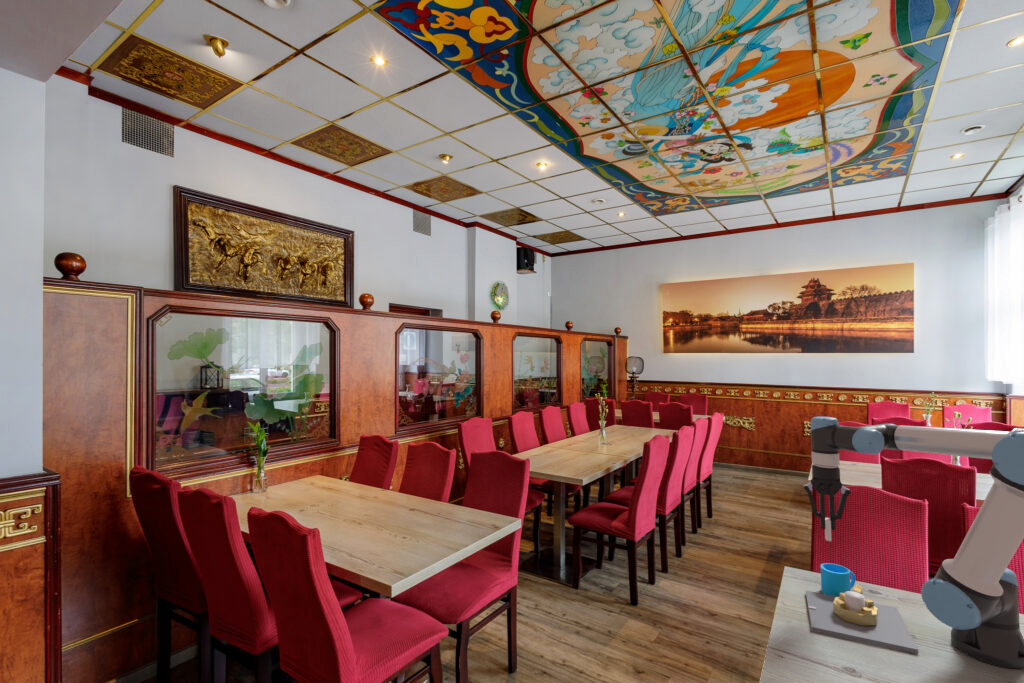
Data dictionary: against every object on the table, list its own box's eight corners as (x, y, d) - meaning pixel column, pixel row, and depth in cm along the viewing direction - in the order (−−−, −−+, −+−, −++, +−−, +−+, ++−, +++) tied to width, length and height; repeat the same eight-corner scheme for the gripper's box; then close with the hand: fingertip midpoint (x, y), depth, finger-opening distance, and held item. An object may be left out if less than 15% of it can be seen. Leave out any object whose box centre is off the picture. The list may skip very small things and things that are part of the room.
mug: (836, 600, 155) (835, 575, 155) (815, 589, 163) (814, 564, 163) (866, 596, 157) (865, 571, 158) (844, 584, 165) (843, 560, 166)
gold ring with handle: (875, 629, 136) (874, 609, 136) (831, 616, 143) (831, 598, 143) (880, 608, 147) (879, 590, 147) (839, 597, 154) (838, 580, 154)
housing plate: (896, 611, 148) (895, 586, 148) (918, 654, 127) (917, 625, 127) (805, 594, 159) (805, 571, 159) (811, 631, 138) (810, 604, 138)
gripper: (848, 464, 154) (851, 538, 154) (801, 461, 160) (803, 532, 160) (852, 469, 148) (854, 547, 147) (802, 465, 154) (805, 540, 153)
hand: (828, 539), depth 153 cm, fingers closed
